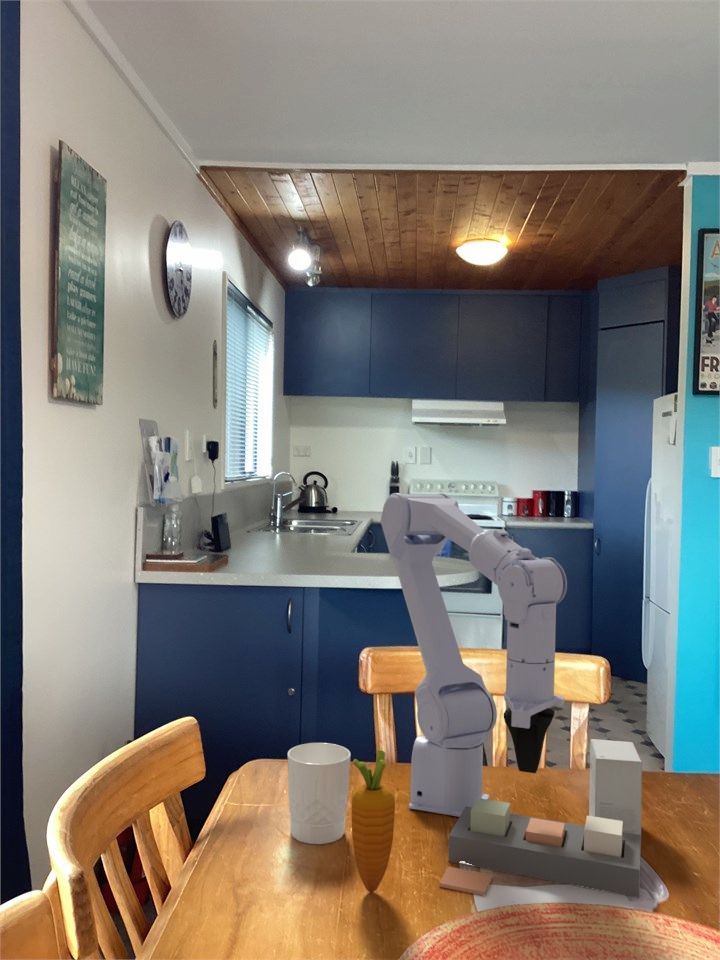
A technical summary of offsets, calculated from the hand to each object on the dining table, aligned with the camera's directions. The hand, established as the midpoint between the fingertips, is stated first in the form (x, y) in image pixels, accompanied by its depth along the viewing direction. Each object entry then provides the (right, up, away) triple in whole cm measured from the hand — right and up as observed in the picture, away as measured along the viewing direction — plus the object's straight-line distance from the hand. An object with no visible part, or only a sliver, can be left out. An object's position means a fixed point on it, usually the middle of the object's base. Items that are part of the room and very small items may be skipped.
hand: (528, 770), depth 96 cm
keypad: (+1, -9, -3) cm, 10 cm away
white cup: (-26, -9, +3) cm, 27 cm away
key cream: (+7, -8, -5) cm, 12 cm away
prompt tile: (-9, -9, -9) cm, 15 cm away
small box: (+12, -10, +5) cm, 16 cm away
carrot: (-19, -9, -11) cm, 24 cm away
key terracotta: (+1, -9, -3) cm, 10 cm away
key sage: (-5, -8, -1) cm, 9 cm away
